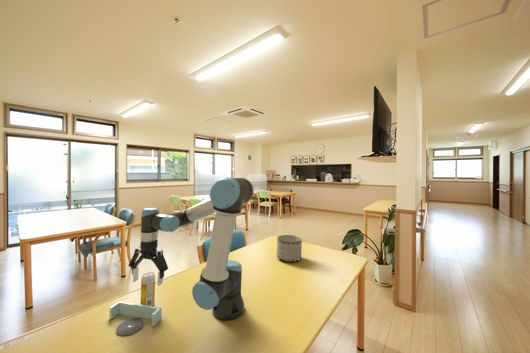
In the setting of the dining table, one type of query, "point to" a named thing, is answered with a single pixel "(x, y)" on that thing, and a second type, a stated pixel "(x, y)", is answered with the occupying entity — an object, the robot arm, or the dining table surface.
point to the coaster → (130, 326)
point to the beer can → (148, 289)
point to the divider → (136, 311)
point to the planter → (289, 247)
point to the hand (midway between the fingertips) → (147, 282)
